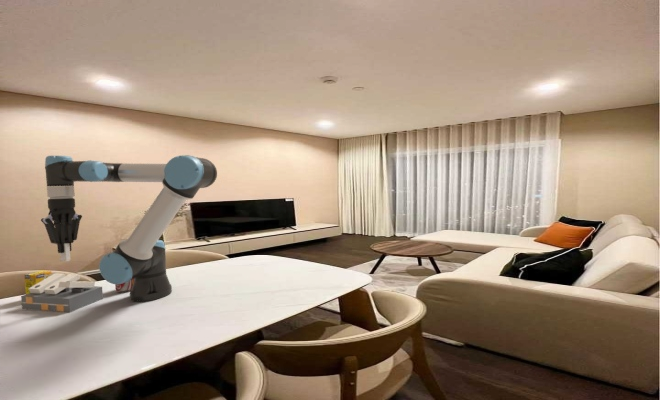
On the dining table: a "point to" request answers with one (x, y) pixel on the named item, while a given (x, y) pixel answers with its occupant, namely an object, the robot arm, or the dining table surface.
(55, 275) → the rocker
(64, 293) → the switch unit
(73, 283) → the rocker
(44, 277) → the supplement box
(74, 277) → the rocker
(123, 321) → the dining table surface
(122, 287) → the beverage can
